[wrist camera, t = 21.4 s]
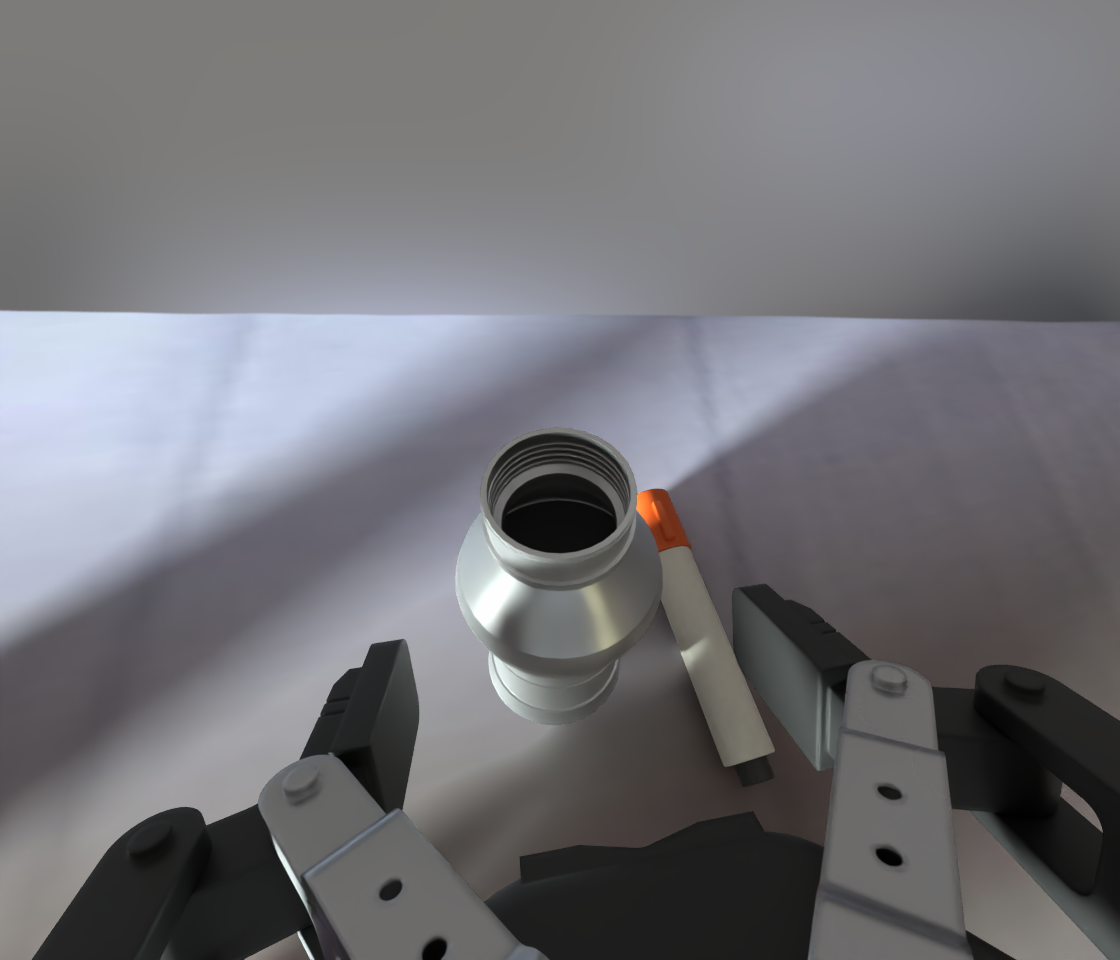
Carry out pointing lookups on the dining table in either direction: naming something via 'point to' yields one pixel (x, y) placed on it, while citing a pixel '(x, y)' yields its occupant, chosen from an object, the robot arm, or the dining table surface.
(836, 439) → the dining table surface
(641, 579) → the silver metal bottle
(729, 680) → the marker
